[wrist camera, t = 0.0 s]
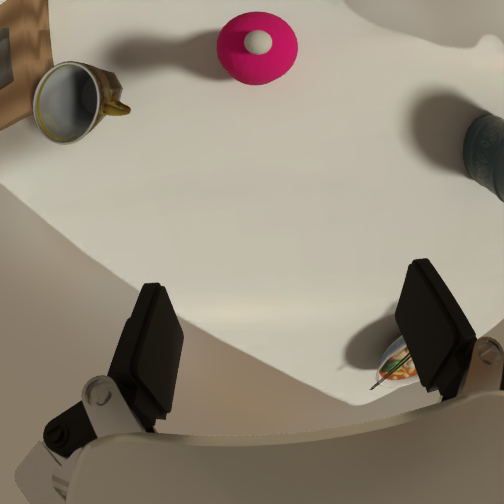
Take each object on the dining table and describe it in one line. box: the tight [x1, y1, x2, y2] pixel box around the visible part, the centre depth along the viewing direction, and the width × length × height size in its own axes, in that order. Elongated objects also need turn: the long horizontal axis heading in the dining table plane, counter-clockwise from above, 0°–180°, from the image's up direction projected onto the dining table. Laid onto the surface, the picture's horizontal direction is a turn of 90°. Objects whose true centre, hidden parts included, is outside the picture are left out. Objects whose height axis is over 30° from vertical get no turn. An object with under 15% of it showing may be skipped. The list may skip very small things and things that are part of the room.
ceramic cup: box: [33, 61, 131, 145], centre depth 28 cm, size 13×10×10 cm
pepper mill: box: [217, 12, 298, 85], centre depth 22 cm, size 7×7×20 cm
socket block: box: [0, 0, 54, 131], centre depth 23 cm, size 20×14×8 cm
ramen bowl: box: [369, 335, 420, 390], centre depth 60 cm, size 25×23×8 cm
